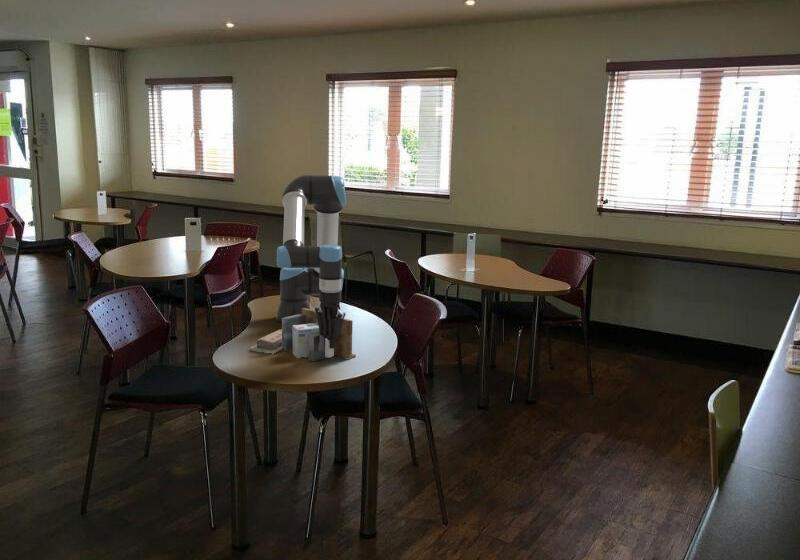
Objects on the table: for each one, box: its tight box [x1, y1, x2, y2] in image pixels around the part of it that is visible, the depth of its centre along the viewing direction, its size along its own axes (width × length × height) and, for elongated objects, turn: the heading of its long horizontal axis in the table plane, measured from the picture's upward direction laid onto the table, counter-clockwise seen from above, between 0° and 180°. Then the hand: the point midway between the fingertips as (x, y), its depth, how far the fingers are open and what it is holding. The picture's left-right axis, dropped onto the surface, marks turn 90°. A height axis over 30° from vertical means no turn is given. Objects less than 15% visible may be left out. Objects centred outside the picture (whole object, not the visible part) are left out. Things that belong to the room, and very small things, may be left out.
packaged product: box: [249, 328, 282, 355], centre depth 245 cm, size 18×5×10 cm
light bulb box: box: [292, 323, 320, 359], centre depth 236 cm, size 11×7×11 cm, turn 116°
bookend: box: [308, 333, 327, 362], centre depth 232 cm, size 2×8×9 cm, turn 141°
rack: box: [281, 308, 357, 360], centre depth 237 cm, size 25×13×14 cm, turn 50°
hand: (329, 356), depth 229 cm, fingers closed
